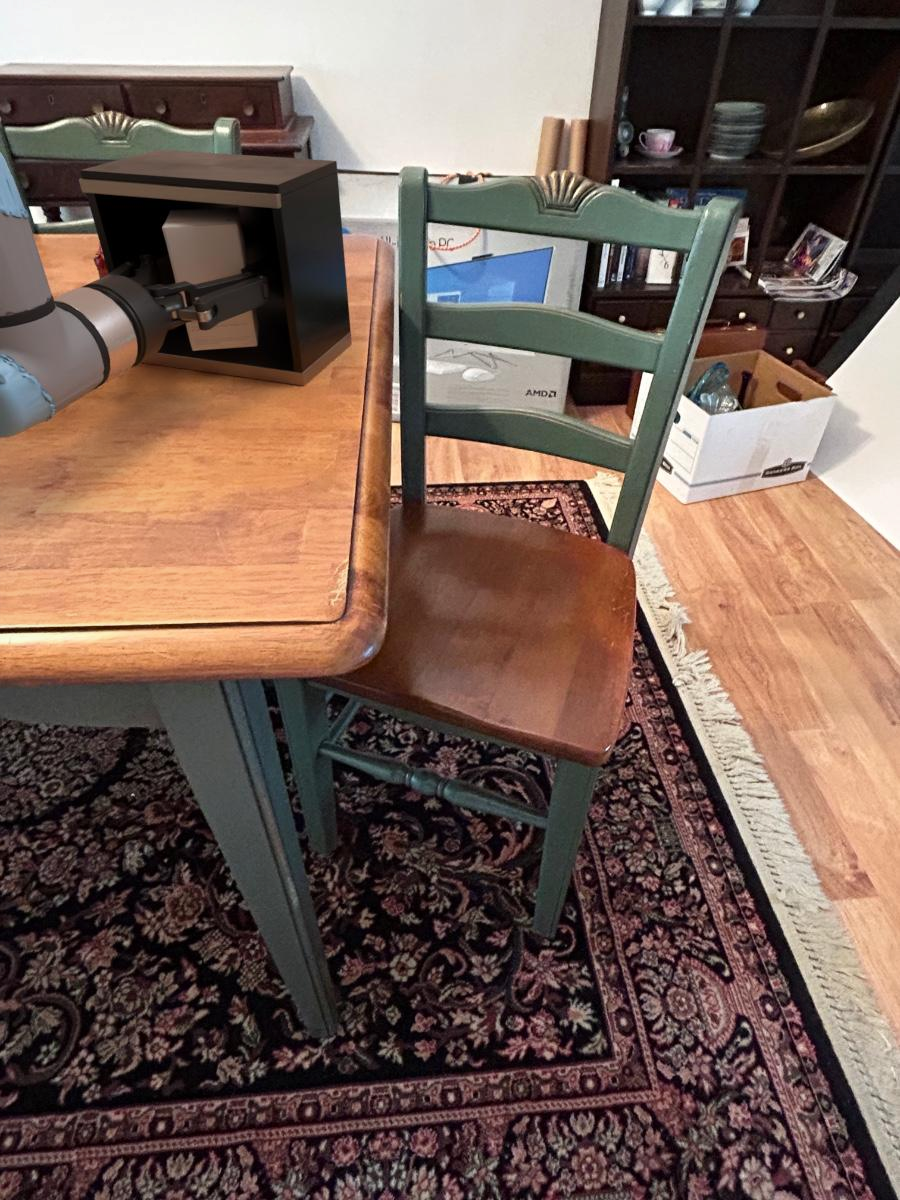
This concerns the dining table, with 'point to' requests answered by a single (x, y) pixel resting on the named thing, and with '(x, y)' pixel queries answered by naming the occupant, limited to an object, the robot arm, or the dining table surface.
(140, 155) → the open cubby shelf
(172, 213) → the white packaging box
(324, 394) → the dining table surface
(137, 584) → the dining table surface
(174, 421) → the dining table surface
